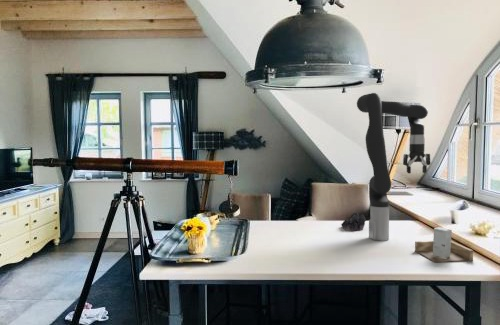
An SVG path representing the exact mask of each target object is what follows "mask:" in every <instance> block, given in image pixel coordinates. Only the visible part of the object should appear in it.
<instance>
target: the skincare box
mask: <svg viewBox="0 0 500 325" xmlns="http://www.w3.org/2000/svg"><path fill="white" fill-rule="evenodd" d="M432 241H433V255H436V256H439V257H442V258H447V257H450V250H451V241H452V229H450V228H447V227H441V226H438V227H435V228H433V240H432Z"/></svg>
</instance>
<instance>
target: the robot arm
mask: <svg viewBox="0 0 500 325" xmlns="http://www.w3.org/2000/svg"><path fill="white" fill-rule="evenodd" d="M356 107H357V109H358V110H359V112H362V113H366V114H368V127H367V130H366V133H365V145H366V146H365V147H366V152H367V156H368V158H369V161H370V163H371V166H372V169H373V176H371V178H370V180H369V183H368V192H369V193H368V195H369V196H368V197H369V201H370V202H369V203H370V214H369V215H370V219H369V220H368V238H370V239H371V240H372V241H388V240H390V201H389V199H388V193H389V192H390V190H391V188H392V180H391V176H390V172H389V168H388V161H387V160H388V159H387V151H386V142H385V135H384V127H383V126H384V125H383V114H387V115H392V116H398V117H403V118H406V117H407V120H408V125H409V129H410V130H409V131H410V132H409V145H408V146H409V148H408V150H409V153H408V154H406V153H404V154H403V157H402V158H403V160H402V165H404V166H406V173H407V174H411V172H412V171H411V170H412V164H414V163H418V162H419V163H421V165H422V168H421V169H422V173H423V174H426V173H427V171H428V170H427V169H428V168H427V167H428V166H430V165H431V154H430V153H425V125H424V123H420V120H422V119H425V118H426V117H427V116H428V113H429V110H428V108H427V107H426V106H424V105H421V104H408V103H406V102H405V103H404V102H400V101H387V100H386V101H384V100H381V97H380V96H379V94H378V93H376V92H372V93H371V92H370V93H367V94H363V95H361V96H359V97H358V99H357V102H356ZM424 158H425V159H424Z"/></svg>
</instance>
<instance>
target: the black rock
mask: <svg viewBox="0 0 500 325" xmlns="http://www.w3.org/2000/svg"><path fill="white" fill-rule="evenodd" d="M365 226H366V217H365V215H364V214H359V213H358V212H353V213H352V215H350V217H349V218H348V219H345V220H343V222H342V223H341V228H342V229H343V230H345V231H347V232H357V231H363V230H364V227H365Z"/></svg>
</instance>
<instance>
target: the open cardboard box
mask: <svg viewBox="0 0 500 325" xmlns="http://www.w3.org/2000/svg"><path fill="white" fill-rule="evenodd" d="M414 252H415V253H417V254H419V255H421V256H422V257H424V258H426V259H427V260H430V261H432V262H433V263H434V264H437V263H455V262H456V263H460V262H461V263H462V262H473V261H474V250H473V249H471V248H469V247H466V246H464V245H462V244H460V243H457V242H455V241H453V240H451V250H450V257H447V258H442V257H439V256H436V255H433V240H426V241H425V240H423V241H422V240H420V241H414Z"/></svg>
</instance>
